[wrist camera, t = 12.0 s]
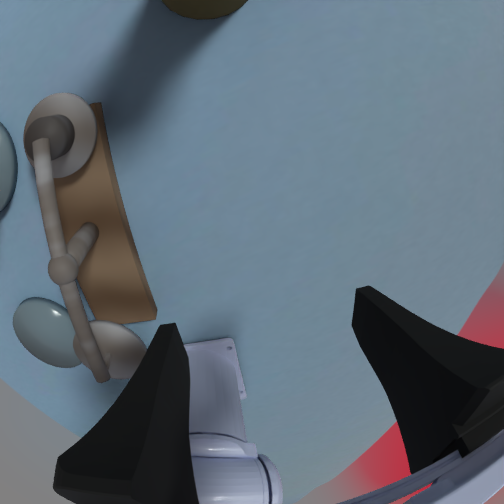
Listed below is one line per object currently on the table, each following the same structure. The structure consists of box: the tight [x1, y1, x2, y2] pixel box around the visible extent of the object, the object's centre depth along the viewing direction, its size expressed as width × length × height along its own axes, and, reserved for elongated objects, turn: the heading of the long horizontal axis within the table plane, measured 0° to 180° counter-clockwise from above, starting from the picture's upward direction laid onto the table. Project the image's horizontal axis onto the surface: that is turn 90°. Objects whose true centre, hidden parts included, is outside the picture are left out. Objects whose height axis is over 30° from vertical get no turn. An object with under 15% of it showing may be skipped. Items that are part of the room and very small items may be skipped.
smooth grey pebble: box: [13, 297, 82, 368], centre depth 22 cm, size 8×8×1 cm
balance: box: [23, 93, 157, 383], centre depth 15 cm, size 19×5×8 cm, turn 7°
